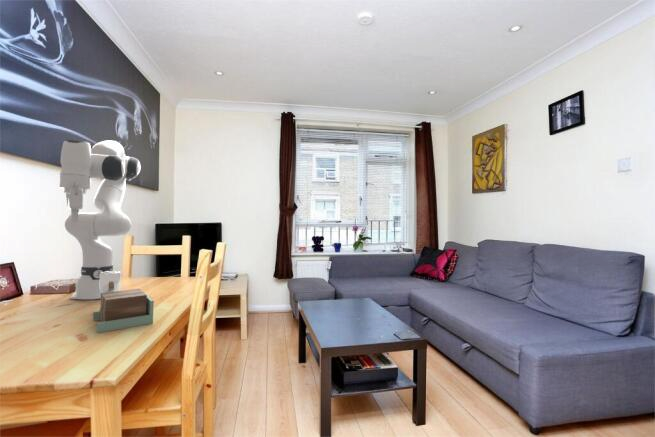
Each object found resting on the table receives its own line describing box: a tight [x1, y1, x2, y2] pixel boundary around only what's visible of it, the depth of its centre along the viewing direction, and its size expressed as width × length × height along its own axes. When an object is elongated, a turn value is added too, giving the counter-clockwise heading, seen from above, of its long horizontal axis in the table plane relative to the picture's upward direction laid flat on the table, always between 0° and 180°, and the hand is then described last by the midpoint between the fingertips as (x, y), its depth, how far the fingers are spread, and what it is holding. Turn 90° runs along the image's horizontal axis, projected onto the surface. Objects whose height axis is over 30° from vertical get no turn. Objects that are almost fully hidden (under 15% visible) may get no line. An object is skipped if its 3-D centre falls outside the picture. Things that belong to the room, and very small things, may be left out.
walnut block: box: [99, 288, 148, 322], centre depth 111 cm, size 12×12×10 cm
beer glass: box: [99, 270, 121, 295], centre depth 124 cm, size 7×7×15 cm
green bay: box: [92, 291, 154, 334], centre depth 111 cm, size 16×16×8 cm
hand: (74, 222), depth 112 cm, fingers closed
